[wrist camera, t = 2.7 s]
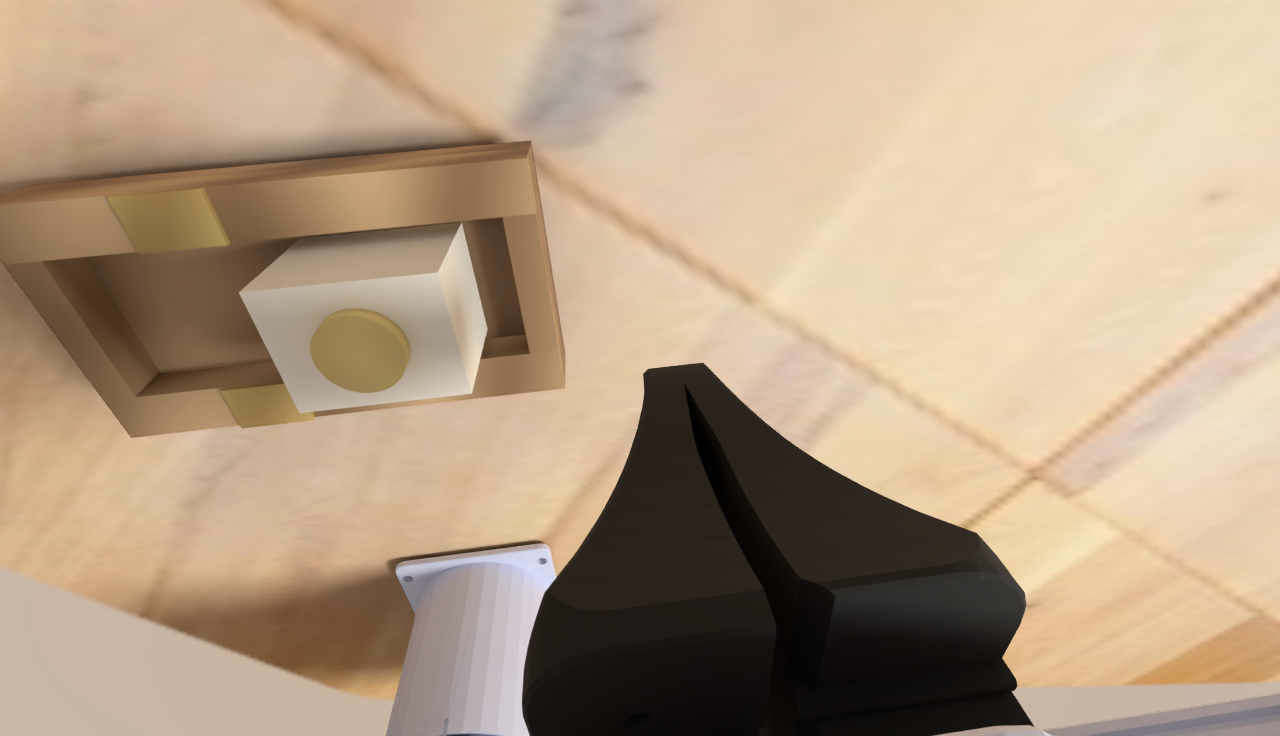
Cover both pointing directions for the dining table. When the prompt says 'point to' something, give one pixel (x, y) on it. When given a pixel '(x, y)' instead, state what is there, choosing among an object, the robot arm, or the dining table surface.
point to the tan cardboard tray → (242, 249)
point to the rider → (371, 317)
